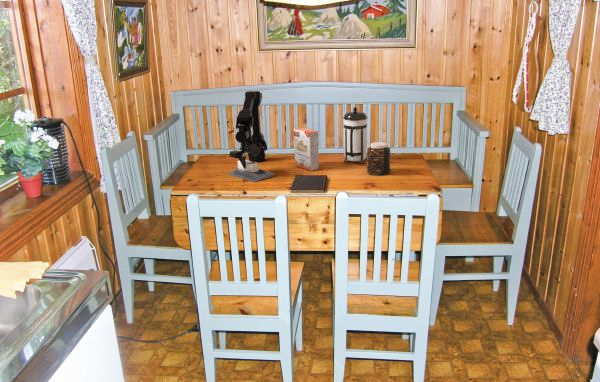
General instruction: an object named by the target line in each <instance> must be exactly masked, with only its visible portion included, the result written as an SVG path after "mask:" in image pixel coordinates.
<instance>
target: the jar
mask: <svg viewBox="0 0 600 382" xmlns="http://www.w3.org/2000/svg"><path fill="white" fill-rule="evenodd" d="M366 157H367V160H366V173H367V174H368V175H370V176H385V175H389V174H390V173H391V148H390V147H389V146H388V143H387V142H384V141H378V142H377V141H376V142H375V141H374V142H371V143H370V146H369V147H367V148H366Z"/></svg>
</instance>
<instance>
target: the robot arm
mask: <svg viewBox="0 0 600 382" xmlns="http://www.w3.org/2000/svg"><path fill="white" fill-rule="evenodd" d="M262 100H263V92H261V91H260V90H254V91H253V90H249V91H245V92H244V100H243V105H242V109H241V110H239V112H238V114H237V116H236V122H235V129H236V130H237V129H238V131H237V132H236V134H235V135H234V136H235V137H234V138H235V140H236V141H237V142H238V143H240V147H239V150H237V149H234V150H231V151H230V152H229V157H230V158H232V159H238V161H240V162H241V164H242V166H243V168H244V169H245V168H246V161H245V160H247V157H248V161H251V162H255V163H262V162H265V161H268V158H266V153H265V152H266V151H268V144H267V142H266V140H265V136H264V134H263V133H262V132H261V131H262V130H261V129H262V128H261V113H260V105H261V103H262ZM246 154H247V156H246Z"/></svg>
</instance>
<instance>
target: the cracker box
mask: <svg viewBox="0 0 600 382" xmlns="http://www.w3.org/2000/svg"><path fill="white" fill-rule="evenodd" d="M293 145H294V165H295V167H297V168H301V169H304V170H306V171H310V172H312V171H316V170H319V169H320V167H319V166H320V165H319V164H320V161H319V160H320V159H319V158H320V157H319V131H318V130H314V129H310V128H307V127H302V126H301V127H296V128H295V127H294V128H293Z"/></svg>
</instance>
